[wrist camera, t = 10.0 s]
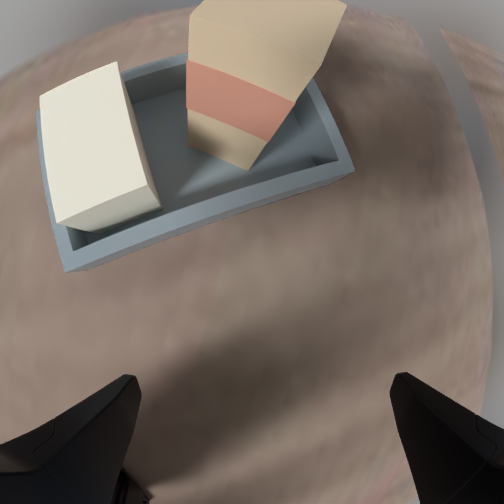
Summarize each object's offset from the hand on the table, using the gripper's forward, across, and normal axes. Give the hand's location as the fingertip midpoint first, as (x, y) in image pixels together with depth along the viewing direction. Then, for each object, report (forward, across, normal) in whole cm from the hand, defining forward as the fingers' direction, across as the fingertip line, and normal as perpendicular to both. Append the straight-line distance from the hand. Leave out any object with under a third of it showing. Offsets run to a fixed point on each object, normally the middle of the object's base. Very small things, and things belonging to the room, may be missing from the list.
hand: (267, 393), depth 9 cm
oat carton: (+15, +2, -10) cm, 18 cm away
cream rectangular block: (+12, +11, -7) cm, 18 cm away
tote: (+15, +6, -8) cm, 18 cm away
